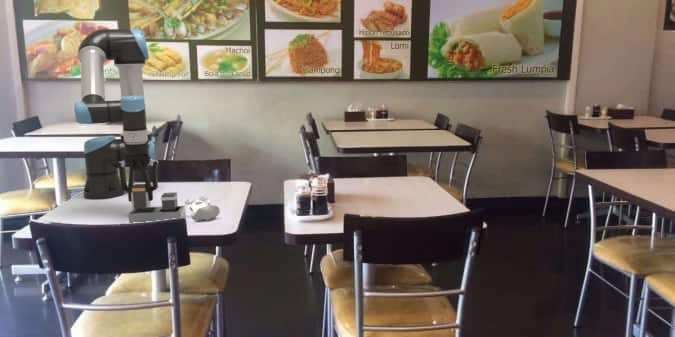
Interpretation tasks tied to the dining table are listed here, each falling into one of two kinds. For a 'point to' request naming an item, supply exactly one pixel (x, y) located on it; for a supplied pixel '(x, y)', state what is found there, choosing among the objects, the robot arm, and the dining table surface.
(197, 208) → the figurine
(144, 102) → the robot arm
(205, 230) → the dining table surface
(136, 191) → the plug
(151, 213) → the grey holder
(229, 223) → the dining table surface
